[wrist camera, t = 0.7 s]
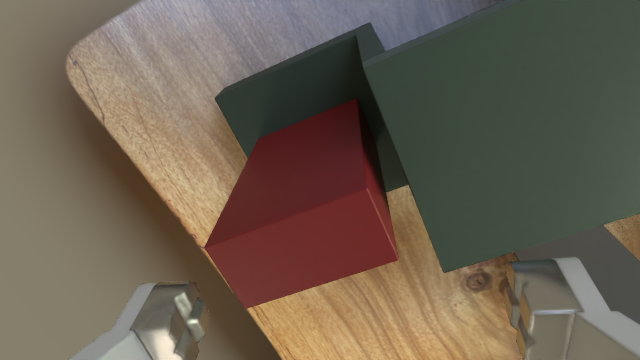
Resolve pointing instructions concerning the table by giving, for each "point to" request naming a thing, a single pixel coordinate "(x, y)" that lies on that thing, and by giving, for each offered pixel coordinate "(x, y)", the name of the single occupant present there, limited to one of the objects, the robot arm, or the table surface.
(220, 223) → the book
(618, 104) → the shelf
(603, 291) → the perfume bottle
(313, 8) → the table surface
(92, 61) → the table surface
